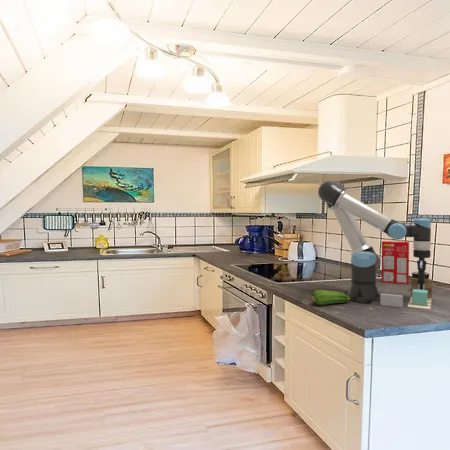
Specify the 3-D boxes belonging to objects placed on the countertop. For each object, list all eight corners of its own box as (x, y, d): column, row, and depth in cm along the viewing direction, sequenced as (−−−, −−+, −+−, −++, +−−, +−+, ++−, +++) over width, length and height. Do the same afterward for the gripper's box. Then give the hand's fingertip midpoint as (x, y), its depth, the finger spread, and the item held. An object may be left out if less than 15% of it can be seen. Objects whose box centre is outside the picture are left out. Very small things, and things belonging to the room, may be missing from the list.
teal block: (426, 306, 164) (427, 292, 163) (412, 304, 167) (412, 291, 166) (427, 302, 169) (427, 290, 168) (413, 301, 172) (413, 288, 172)
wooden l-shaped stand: (430, 311, 159) (430, 288, 158) (407, 308, 163) (407, 286, 163) (431, 299, 179) (432, 279, 179) (411, 297, 184) (411, 277, 183)
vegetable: (310, 287, 173) (347, 285, 178) (307, 298, 177) (343, 296, 181) (317, 297, 167) (355, 294, 172) (313, 309, 170) (351, 306, 175)
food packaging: (408, 282, 219) (408, 241, 218) (408, 284, 214) (409, 242, 213) (381, 280, 225) (382, 241, 224) (381, 282, 221) (381, 241, 219)
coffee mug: (413, 288, 203) (413, 270, 203) (430, 290, 198) (430, 272, 197) (408, 292, 194) (408, 274, 194) (426, 294, 189) (426, 275, 188)
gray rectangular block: (397, 320, 147) (398, 305, 147) (374, 317, 152) (374, 303, 152) (402, 308, 164) (402, 295, 164) (381, 305, 169) (381, 293, 169)
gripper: (430, 251, 170) (429, 300, 171) (431, 248, 184) (430, 293, 185) (412, 250, 174) (411, 298, 175) (414, 247, 188) (414, 291, 189)
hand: (421, 295), depth 180 cm, fingers closed on wooden l-shaped stand, 3 cm apart
